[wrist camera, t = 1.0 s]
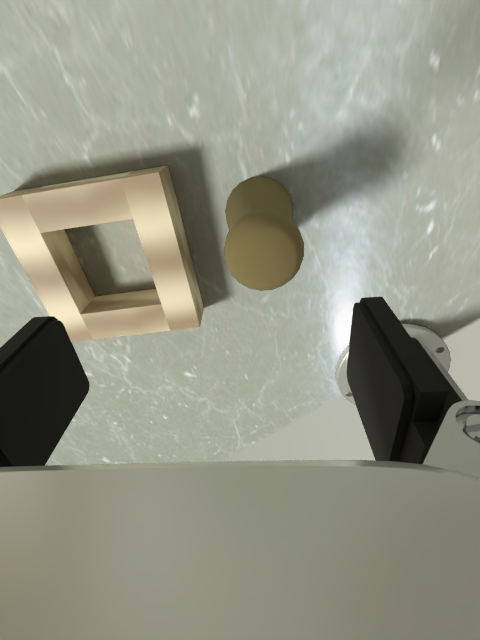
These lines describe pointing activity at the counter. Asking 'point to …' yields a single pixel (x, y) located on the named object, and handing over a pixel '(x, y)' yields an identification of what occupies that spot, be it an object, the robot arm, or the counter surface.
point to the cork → (262, 235)
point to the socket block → (66, 272)
